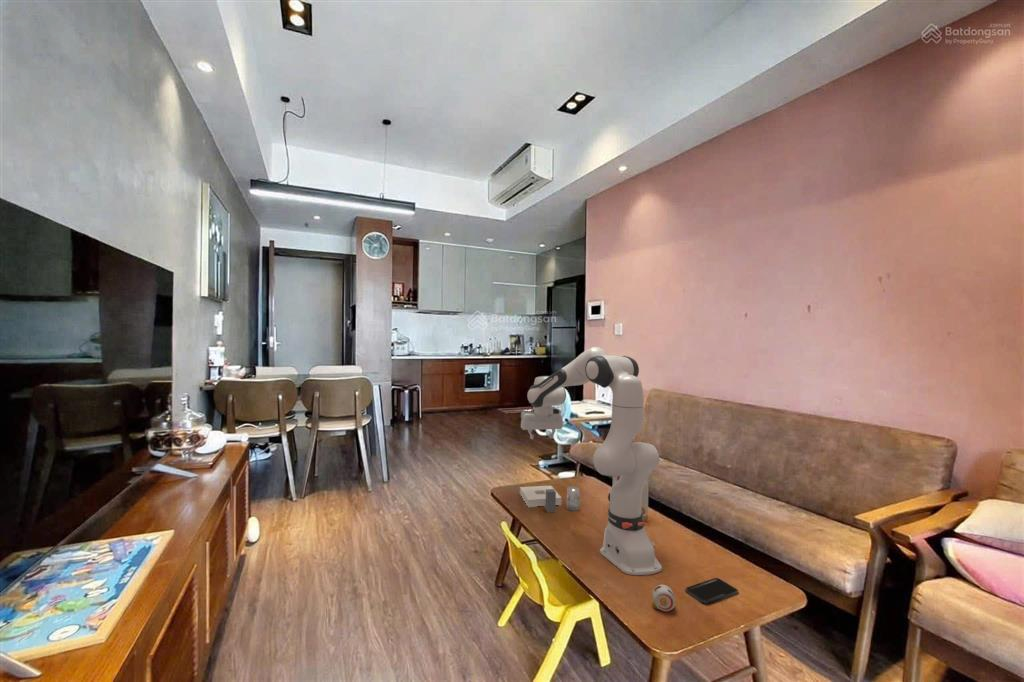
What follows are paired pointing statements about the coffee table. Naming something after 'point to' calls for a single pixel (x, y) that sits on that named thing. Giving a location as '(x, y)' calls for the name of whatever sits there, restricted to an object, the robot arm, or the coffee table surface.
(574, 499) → the round peg
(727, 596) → the phone
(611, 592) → the coffee table surface
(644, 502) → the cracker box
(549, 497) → the square peg
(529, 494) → the socket block
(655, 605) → the roller toy
